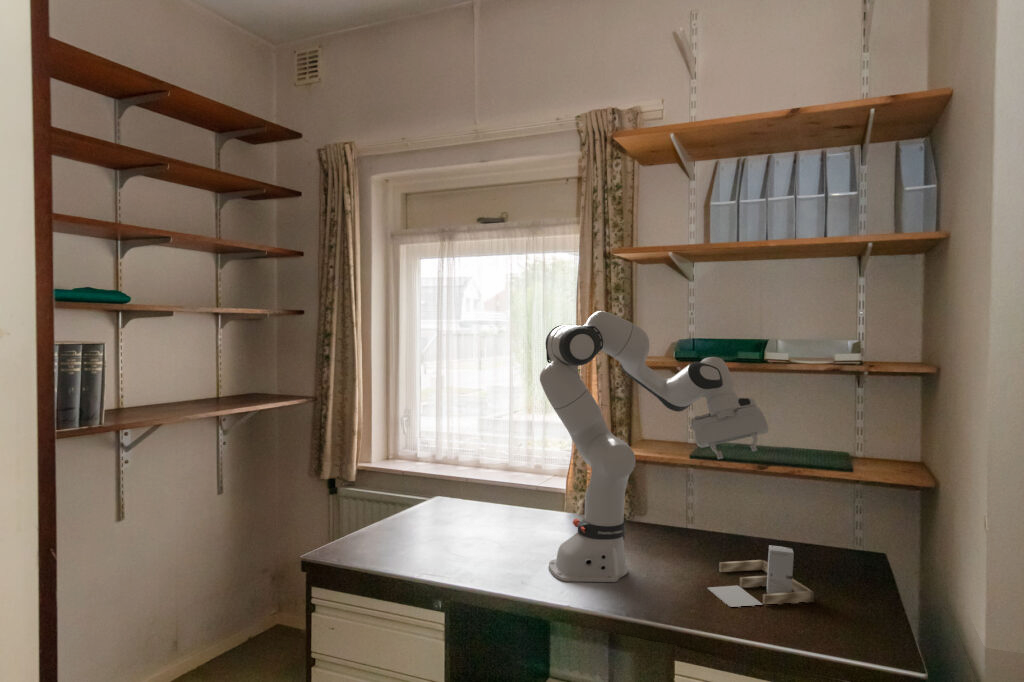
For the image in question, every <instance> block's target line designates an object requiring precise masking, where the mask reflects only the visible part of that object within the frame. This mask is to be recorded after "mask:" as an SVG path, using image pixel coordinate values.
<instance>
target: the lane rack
mask: <svg viewBox="0 0 1024 682" xmlns="http://www.w3.org/2000/svg"><path fill="white" fill-rule="evenodd" d="M718 563H719V564H718V565H719V567H718V571H719V572H720V573H731V572H745V571H747V572H748V571H764V573H766V574H767V570H768V561H766V560H764V559H756V560H755V559H751V560H737V561H720V562H718ZM759 586H762V587H767V575H755V576H754V575H753V576H740V577H739V587H741V588H742V589H745V588H759ZM799 602H805V603H814V602H815V591H813V590H811V589H810V588H808V587H807V586H805V585H803V584H802V583H800V581H797V580H796V579H794V578H793V577H792V592H786V593H772V594H767V593H763V594H762V604H778V605H784V604H783V603H791V604H800V603H799Z"/></svg>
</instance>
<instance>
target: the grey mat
mask: <svg viewBox="0 0 1024 682" xmlns="http://www.w3.org/2000/svg"><path fill="white" fill-rule="evenodd" d="M706 590H708V591H710V592H711V593H712V594H713V595H714V596H716V597H717V598H718V599H719V600H720V601H721V600H722V601H721V602H723V603H724V604H725V605H726V604H727V605H728V607H729V606H730V607H738V608H742V607H741V606H752V607H756V606H755V605H763V602H760V601H759V600H758V599H757V598H755V597H754V596H753V595H751V594H750V593H748V592H747V591H746V590H745V589H744V588H741V587H740V585H724V586H710V587H707V588H706ZM727 605H726V606H727ZM763 606H764V605H763ZM730 607H729V608H730Z"/></svg>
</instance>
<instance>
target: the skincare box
mask: <svg viewBox="0 0 1024 682" xmlns="http://www.w3.org/2000/svg"><path fill="white" fill-rule="evenodd" d="M794 553H795V552H794V550H793V547H792V548H791V547H785V546H780V545H771V544H770V545H768V555H767V562H768V570H767V573H766V576H767V586H766V588H765V589H766V594H772V593H786V592H793V590H792V578H793V575H794V574H793V571H794V556H795V554H794Z"/></svg>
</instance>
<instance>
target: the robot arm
mask: <svg viewBox="0 0 1024 682" xmlns="http://www.w3.org/2000/svg"><path fill="white" fill-rule="evenodd" d="M545 350H546V362H547V363H548V364H547V365H546V366H544V368H543V369H542V370H541V372H540V374H539V381H540V382H539V383H540V384H541V386H542V390H543V392H544V394H545V396H546V397H547V400H548V402H549V403H550V405H551V407H552V408H553V410H554V412H556V415H557V416H558V418H559V419H560V421H561V423H563V426H564V427H565V429H566V430H567V431H568V434H569V436H570V437H571V440H572V442H573V444H574V446H575V448H576V449H577V451H578V453H579V455H580V457H581V458H582V460H583V462H585V464H587V465H588V466H590V468H591V474H590V481H589V484H588V487H587V489H585V493H584V494H585V495H584V518H583V519H582V520H580V519H578V518H573V520H572V524H573V526H574V527H575V528H577V532H576V533H574V535H571V536H570V537H569V538H568V539H567V540H565V541H564V542H563V543H561V544H560V545H559V547H558V550H557V553H556V558H554V559H551V560H550V561H549V563H548V570H549V572H550V573H551V574H552V576H553V577H555V578H556V579H558V580H559V581H562V582H582V583H584V582H587V583H588V582H589V583H593V582H595V583H616V582H618V581H619V580H620V578H622V577H624V576H626V575H627V574H628V573H629V568H628V564H627V561H626V554H625V552H626V551H625V538H626V523H625V522H626V521H625V520H624V518H625V517H624V515H625V514H624V513H625V496H626V489H627V486H628V482H629V479H630V475H631V474H632V473H633V471H634V469H635V468H636V454H635V453H634V451H633V449H632V448H631V446H630V445H629V444H628V443H627V442H626V441H625V440H623V439H621V438H619V437H617V436H615V435H614V434H613V433H612V432H611V430H610V429H609V427H608V426H607V424H606V421H605V418H604V417H603V416H604V415H603V414H602V412H603V411H602V409H601V408H600V406H599V404H598V402H597V401H596V400H595V398H594V396H593V395H592V394H591V393H592V392H590V390H589V389H588V387H587V386H586V384H585V383H584V381H583V380H582V378H581V375H580V373H579V366H584V365H587V364H588V363H589V362H591V361H592V360H593V359H594V358H595V357H597V355H598V354H599V352H603V353H605V354H607V355H608V356H610V357H612V358H614V359H615V360H616V361H617V362H618V363H619V365H620V368H621V370H622V371H623V372H624V373H625V374H626V375H627V376H628V377H629V378H631V379H632V380H633V381H634V382H636V383H637V384H638V385H640V387H642V388H644V389H645V390H647V391H648V392H649V393H651V394H652V395H653V396H654V397H655V398H657V399H658V400H659V401H660V402H661V404H663V406H664V407H665V408H667V409H669V410H671V411H673V412H683V411H685V410H686V409H687V408H688V407H689V408H690V406H691V405H692V404H693V403H694V402H697V401H698V400H700V399H701V398H705V399H706V405H707V409H708V413H706V414H705V413H704V414H702V415H696V416H694V418H692V419H691V421H690V427H691V430H692V431H693V432H694V439H695V443H696V445H697V446H698V447H699V448H701V449H703V448H707V447H710V449H711V450H712V451H713V452H714V453H715V454H716V457H717V460H721V459H724V455H723V453H722V451H721V450H717V446H716V445H720V444H725V443H728V442H733V441H738V440H741V439H742V440H743V439H747V438H752V440H753V441H752V443H750V444H749V447H750V449H751V452H752V453H753V452H756V451H758V448H757V444H758V440H759V438H758V436H760V435H763V434H764V435H765V434H767V433H768V432H769V430H770V429H769V425H768V422H767V420H766V417H765V415H764V412H763V411H762V409H760V407H758V405H757V403H756V401H755V399H754V398H753V397H740V396H738V395H737V393H736V391H735V386H734V380H733V378H732V374H731V372H730V369H729V368H728V365H727V364H726V361H725V360H724V359H722V358H721V357H717V356H708V357H705V358H703V359H701V361H694V362H691V363H689V364H688V365H687V366H685V367H683V368H682V369H680V371H679V372H677V373H676V374H674V375H673V376H672V377H668V378H666V377H665V378H664V377H663V376H661V375H660V374H658V373H657V372H656V371H654V370H653V369H652V368H651V367H649V366H648V365H647V364H646V361H647V358H648V355H649V352H650V339H649V336H648V335H647V332H645V331H644V330H643V329H642V328H641V327H639V326H638V325H635V324H634V323H632V322H631V321H629V320H627V319H625V318H623V317H620V316H618V315H615V314H614V313H610V312H607V311H604V310H603V311H602V310H598V311H595V312H594V313H593V314H591V315H590V316H589V317H588V318H587V320H586V322H585V323H584V325H576V324H561V325H560V324H559V325H557V326H555V327H554V328H551V330H549V332H548V333H547V335H546V338H545Z"/></svg>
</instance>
